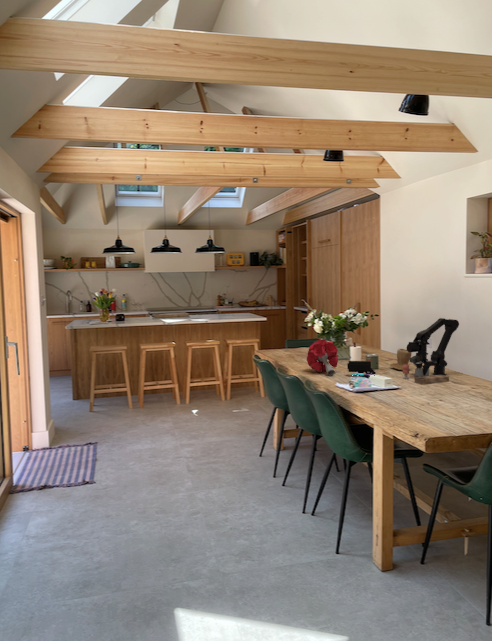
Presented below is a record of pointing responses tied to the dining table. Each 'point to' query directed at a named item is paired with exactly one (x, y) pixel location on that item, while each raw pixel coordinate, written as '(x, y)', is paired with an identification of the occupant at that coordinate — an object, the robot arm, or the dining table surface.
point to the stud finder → (420, 372)
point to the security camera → (360, 367)
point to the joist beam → (431, 379)
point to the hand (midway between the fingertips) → (421, 374)
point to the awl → (405, 371)
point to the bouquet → (323, 356)
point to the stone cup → (401, 359)
